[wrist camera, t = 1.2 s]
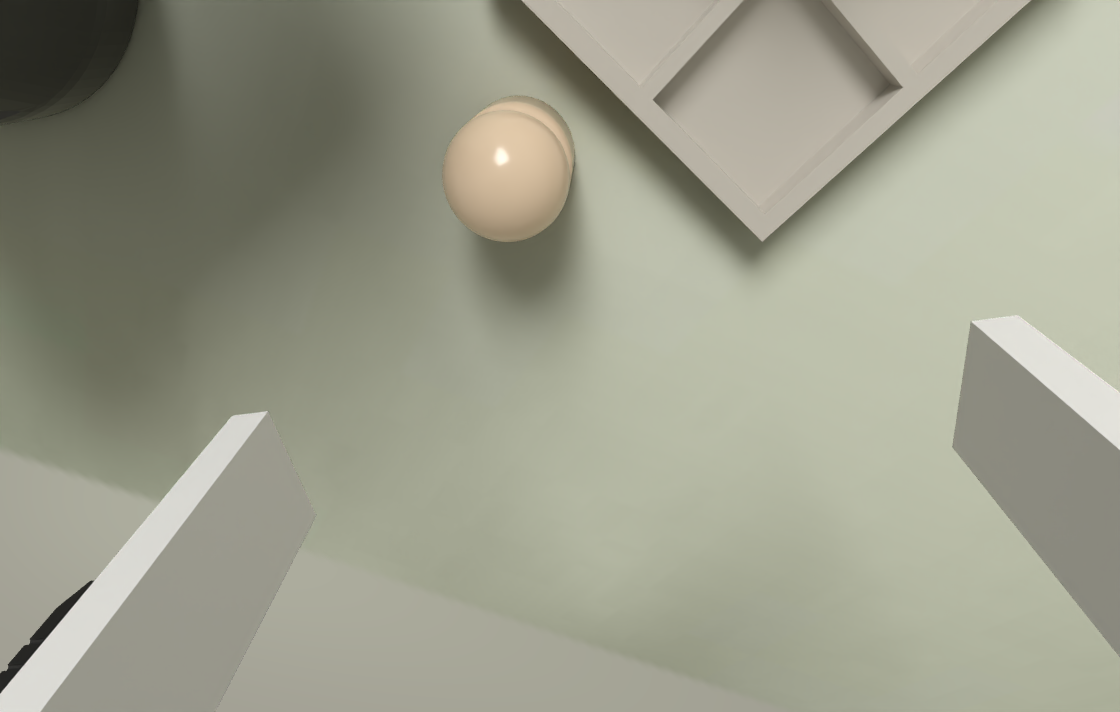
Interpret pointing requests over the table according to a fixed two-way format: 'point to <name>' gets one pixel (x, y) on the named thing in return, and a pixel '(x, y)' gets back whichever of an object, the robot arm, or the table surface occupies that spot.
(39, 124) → the table surface
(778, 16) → the divided tray
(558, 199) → the egg
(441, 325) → the table surface
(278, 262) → the table surface
